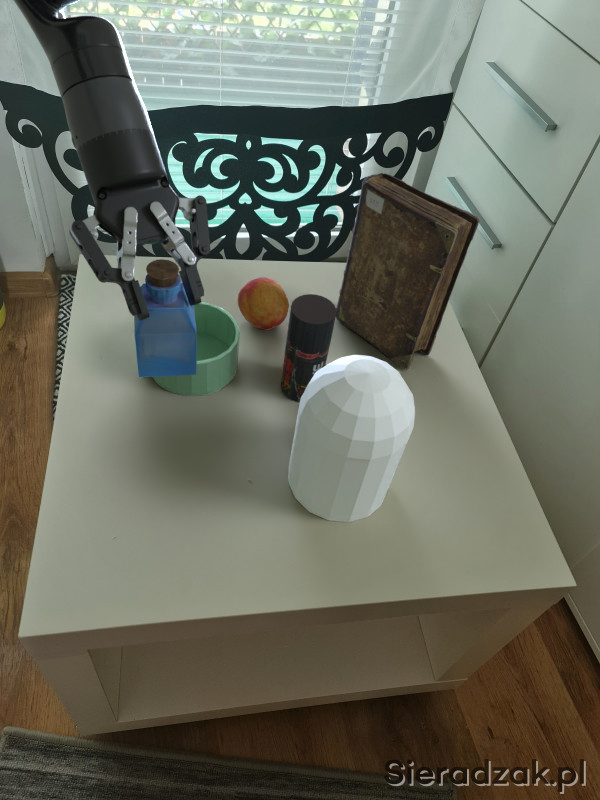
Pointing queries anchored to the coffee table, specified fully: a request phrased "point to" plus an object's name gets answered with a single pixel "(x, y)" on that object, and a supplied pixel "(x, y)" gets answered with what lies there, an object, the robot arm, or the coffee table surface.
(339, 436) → the white dome-topped cylinder
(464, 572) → the coffee table surface
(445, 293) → the book
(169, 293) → the perfume bottle
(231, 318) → the green bowl
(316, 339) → the deodorant
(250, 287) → the fruit
